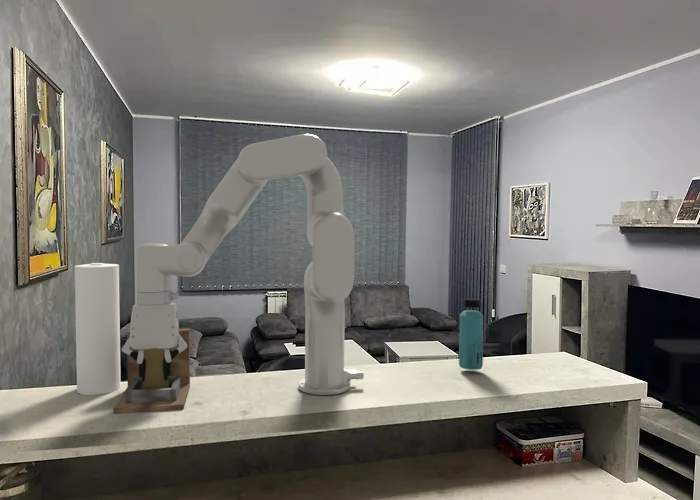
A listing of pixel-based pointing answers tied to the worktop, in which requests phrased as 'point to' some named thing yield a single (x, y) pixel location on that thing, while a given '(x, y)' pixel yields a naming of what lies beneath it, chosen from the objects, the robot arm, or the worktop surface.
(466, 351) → the beverage bottle
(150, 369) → the cork
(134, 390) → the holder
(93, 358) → the cylinder container
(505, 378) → the worktop surface
